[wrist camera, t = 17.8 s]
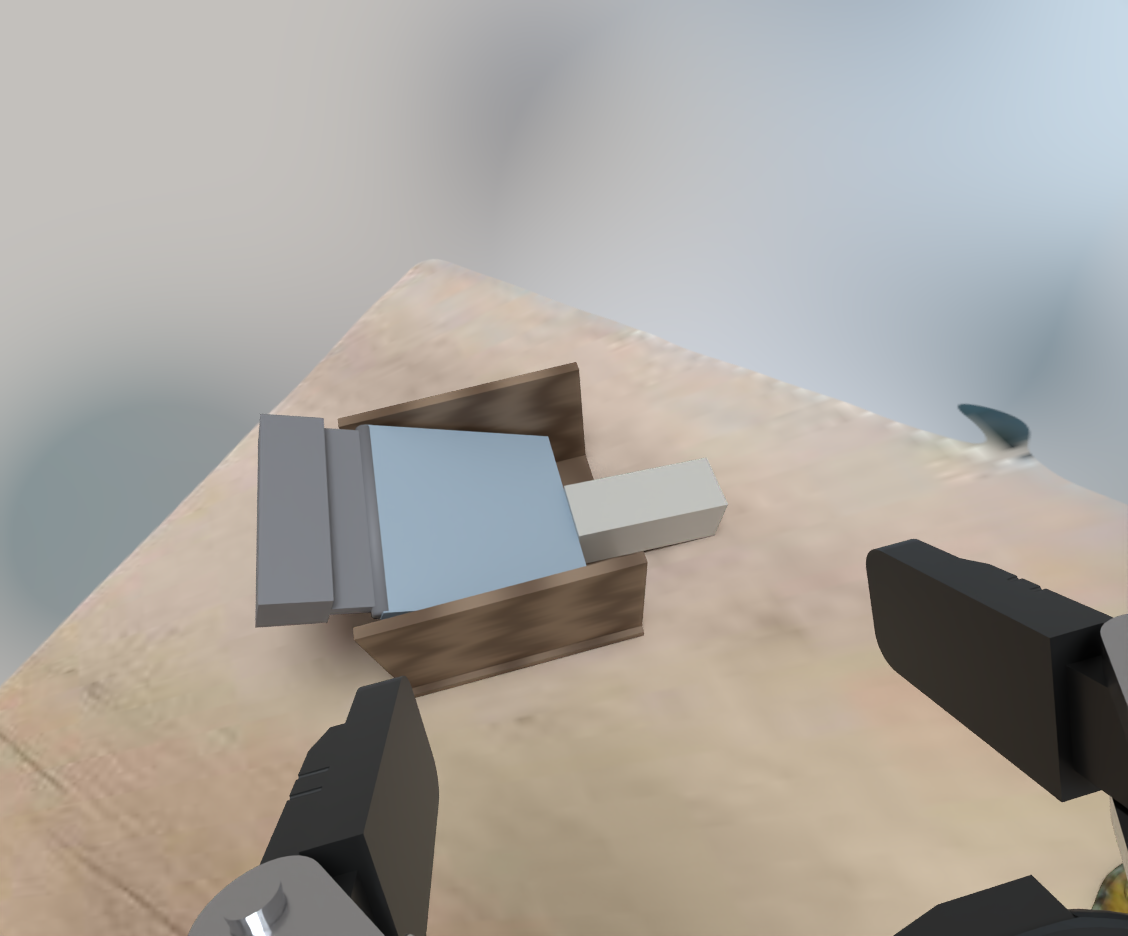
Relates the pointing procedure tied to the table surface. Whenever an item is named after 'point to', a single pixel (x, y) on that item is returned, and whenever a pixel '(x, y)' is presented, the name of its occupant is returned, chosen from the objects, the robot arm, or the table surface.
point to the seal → (1113, 892)
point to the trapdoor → (401, 518)
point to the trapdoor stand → (523, 611)
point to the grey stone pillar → (645, 509)
